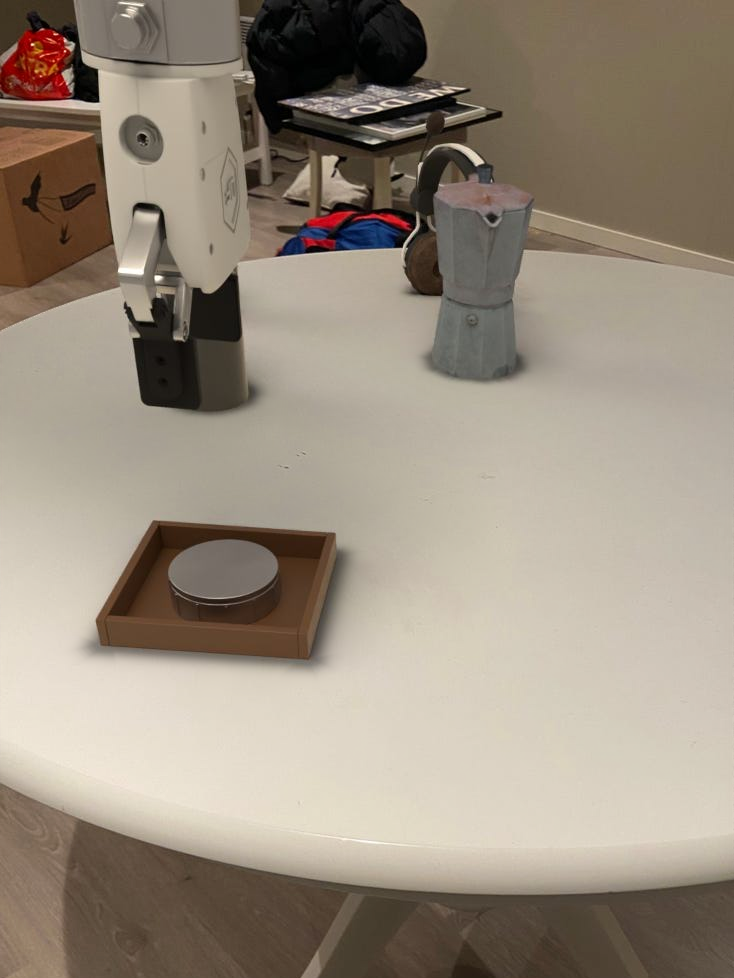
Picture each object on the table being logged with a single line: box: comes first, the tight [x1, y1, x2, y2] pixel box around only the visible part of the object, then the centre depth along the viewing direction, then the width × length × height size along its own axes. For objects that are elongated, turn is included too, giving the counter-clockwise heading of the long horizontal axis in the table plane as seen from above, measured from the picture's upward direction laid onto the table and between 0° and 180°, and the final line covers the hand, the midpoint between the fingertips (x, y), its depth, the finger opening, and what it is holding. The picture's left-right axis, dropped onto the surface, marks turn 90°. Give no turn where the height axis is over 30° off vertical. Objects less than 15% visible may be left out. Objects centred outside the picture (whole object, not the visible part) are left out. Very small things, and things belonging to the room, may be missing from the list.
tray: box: [94, 519, 338, 661], centre depth 67 cm, size 13×12×3 cm
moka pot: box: [431, 162, 535, 381], centre depth 98 cm, size 10×15×20 cm, turn 12°
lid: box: [168, 539, 281, 625], centre depth 67 cm, size 7×7×2 cm
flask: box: [156, 264, 250, 413], centre depth 88 cm, size 7×7×16 cm
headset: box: [400, 111, 496, 297], centre depth 112 cm, size 17×8×20 cm, turn 34°
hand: (195, 370), depth 58 cm, fingers open, 9 cm apart
